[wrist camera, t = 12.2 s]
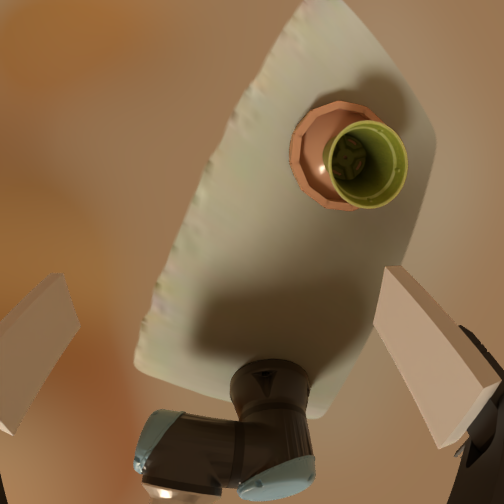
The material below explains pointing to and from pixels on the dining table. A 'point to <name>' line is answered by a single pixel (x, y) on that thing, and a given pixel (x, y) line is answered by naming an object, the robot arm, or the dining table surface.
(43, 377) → the robot arm
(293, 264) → the dining table surface
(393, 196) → the plant pot
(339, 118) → the terracotta plant saucer
